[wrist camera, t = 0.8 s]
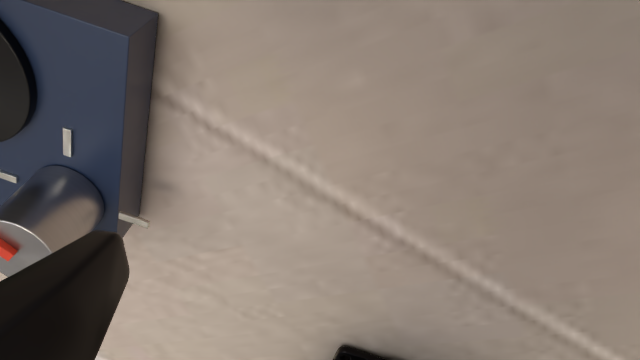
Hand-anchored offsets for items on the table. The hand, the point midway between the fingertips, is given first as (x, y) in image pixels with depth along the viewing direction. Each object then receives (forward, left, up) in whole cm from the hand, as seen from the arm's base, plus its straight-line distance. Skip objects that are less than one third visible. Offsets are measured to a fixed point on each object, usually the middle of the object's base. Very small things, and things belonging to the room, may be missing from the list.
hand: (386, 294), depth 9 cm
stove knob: (-12, +12, -11) cm, 21 cm away
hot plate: (-10, +14, -14) cm, 22 cm away
